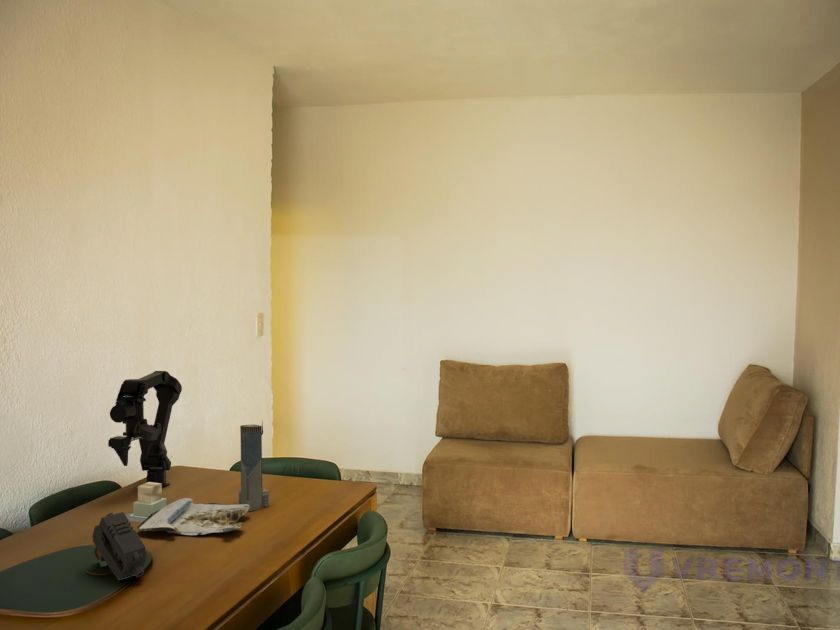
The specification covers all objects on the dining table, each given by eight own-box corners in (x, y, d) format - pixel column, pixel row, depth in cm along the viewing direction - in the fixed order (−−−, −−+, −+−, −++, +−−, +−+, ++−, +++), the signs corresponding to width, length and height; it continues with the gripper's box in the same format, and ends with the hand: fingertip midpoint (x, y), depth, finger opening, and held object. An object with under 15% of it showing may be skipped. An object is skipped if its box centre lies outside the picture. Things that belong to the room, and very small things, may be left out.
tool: (108, 546, 186) (121, 504, 181) (141, 599, 176) (156, 557, 170) (85, 553, 181) (98, 510, 176) (117, 608, 171) (132, 564, 166)
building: (271, 503, 231) (270, 414, 230) (262, 512, 222) (262, 419, 220) (241, 502, 232) (240, 413, 231) (231, 511, 223) (230, 418, 222)
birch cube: (148, 497, 223) (148, 481, 223) (161, 498, 222) (161, 483, 222) (138, 502, 219) (137, 486, 218) (151, 503, 217) (150, 487, 217)
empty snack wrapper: (236, 545, 198) (236, 527, 197) (131, 542, 198) (131, 524, 198) (257, 513, 222) (257, 497, 221) (164, 510, 222) (164, 494, 222)
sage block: (148, 508, 225) (148, 496, 225) (166, 510, 223) (166, 498, 222) (133, 515, 218) (133, 502, 218) (151, 517, 216) (151, 504, 216)
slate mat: (152, 504, 230) (151, 502, 230) (182, 508, 226) (182, 506, 226) (116, 520, 215) (116, 518, 215) (148, 524, 211) (148, 523, 211)
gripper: (134, 423, 223) (135, 471, 224) (172, 413, 240) (173, 457, 241) (106, 421, 226) (107, 468, 227) (146, 411, 244) (147, 455, 245)
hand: (135, 462), depth 235 cm, fingers open, 9 cm apart
